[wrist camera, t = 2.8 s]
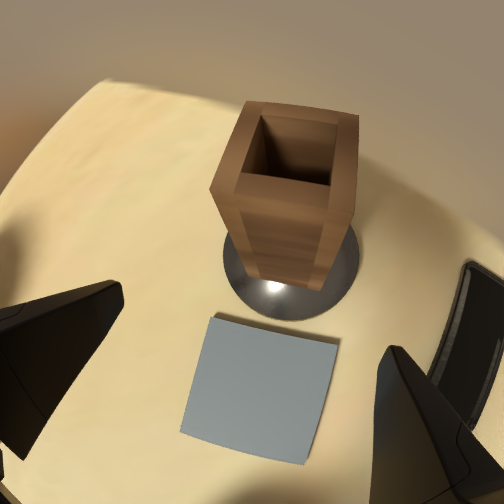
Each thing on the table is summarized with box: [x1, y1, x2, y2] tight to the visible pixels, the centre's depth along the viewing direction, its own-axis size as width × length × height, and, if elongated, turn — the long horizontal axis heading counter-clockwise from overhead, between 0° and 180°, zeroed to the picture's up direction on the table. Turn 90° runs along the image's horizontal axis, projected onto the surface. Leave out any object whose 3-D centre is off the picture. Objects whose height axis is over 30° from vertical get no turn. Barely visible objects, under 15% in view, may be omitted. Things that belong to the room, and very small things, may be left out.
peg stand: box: [223, 225, 359, 322], centre depth 21 cm, size 11×11×4 cm
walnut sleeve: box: [209, 101, 359, 291], centre depth 17 cm, size 6×6×12 cm
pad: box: [180, 317, 338, 465], centre depth 19 cm, size 10×10×1 cm
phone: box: [427, 261, 504, 432], centre depth 18 cm, size 8×1×15 cm
